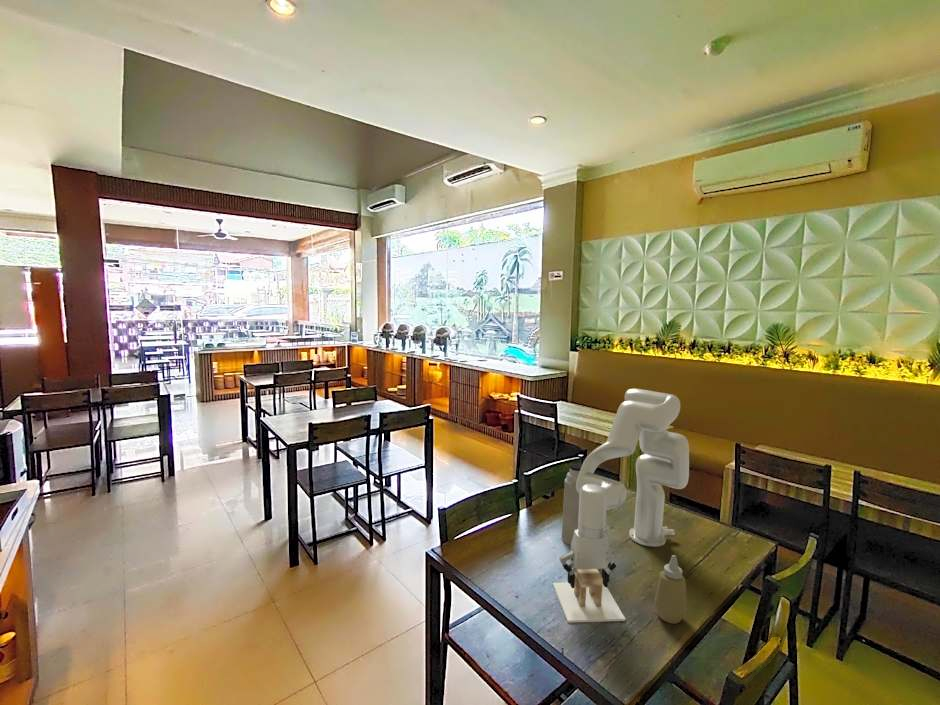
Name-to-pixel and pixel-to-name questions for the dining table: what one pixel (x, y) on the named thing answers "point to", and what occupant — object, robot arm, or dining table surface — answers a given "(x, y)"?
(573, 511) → the thermos bottle
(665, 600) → the squeeze bottle
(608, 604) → the mat
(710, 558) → the dining table surface
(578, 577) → the stool
